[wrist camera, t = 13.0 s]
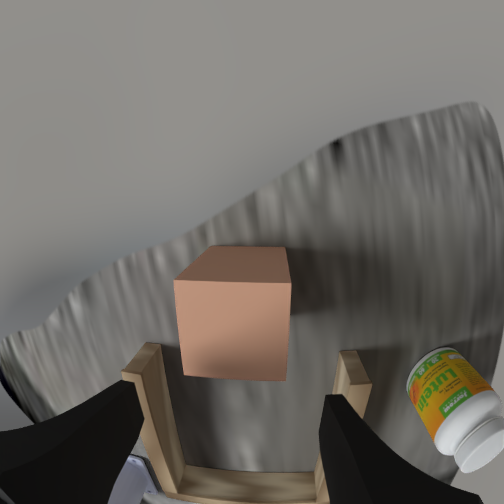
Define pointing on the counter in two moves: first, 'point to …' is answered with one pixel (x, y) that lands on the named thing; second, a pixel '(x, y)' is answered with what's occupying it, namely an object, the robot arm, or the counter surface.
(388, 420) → the counter surface
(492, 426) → the supplement bottle
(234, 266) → the block
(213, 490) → the wooden u-shaped frame
